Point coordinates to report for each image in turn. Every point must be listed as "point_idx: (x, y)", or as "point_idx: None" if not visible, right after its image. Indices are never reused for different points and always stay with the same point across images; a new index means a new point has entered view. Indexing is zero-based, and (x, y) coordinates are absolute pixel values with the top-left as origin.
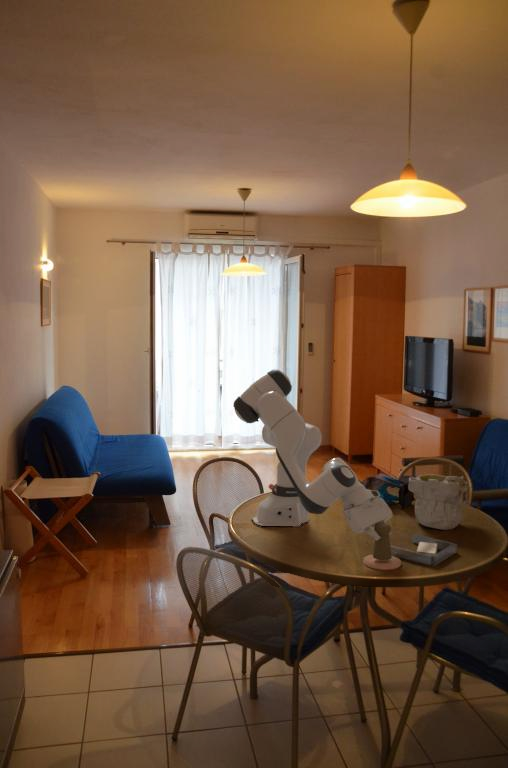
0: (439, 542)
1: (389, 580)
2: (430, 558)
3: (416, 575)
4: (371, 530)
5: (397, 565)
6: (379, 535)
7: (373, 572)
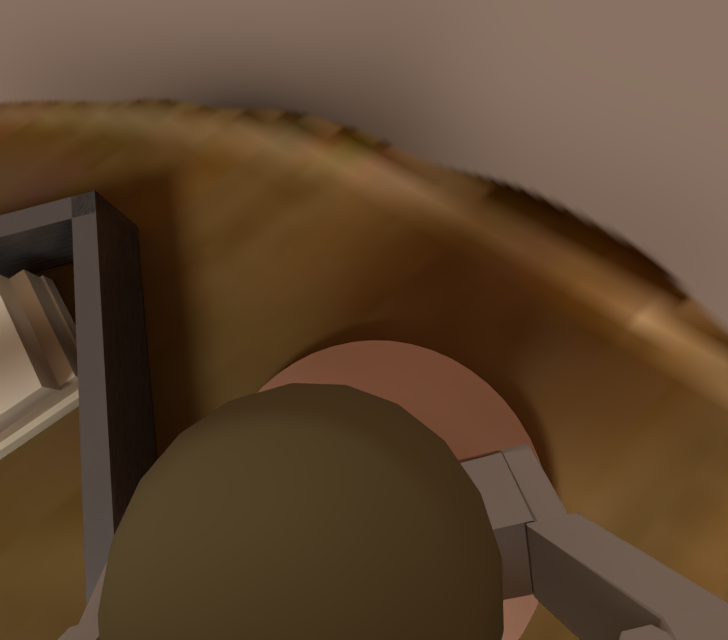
0: None
1: (582, 220)
2: (104, 222)
3: (350, 186)
4: (715, 605)
5: (350, 347)
6: (490, 479)
7: (589, 395)
